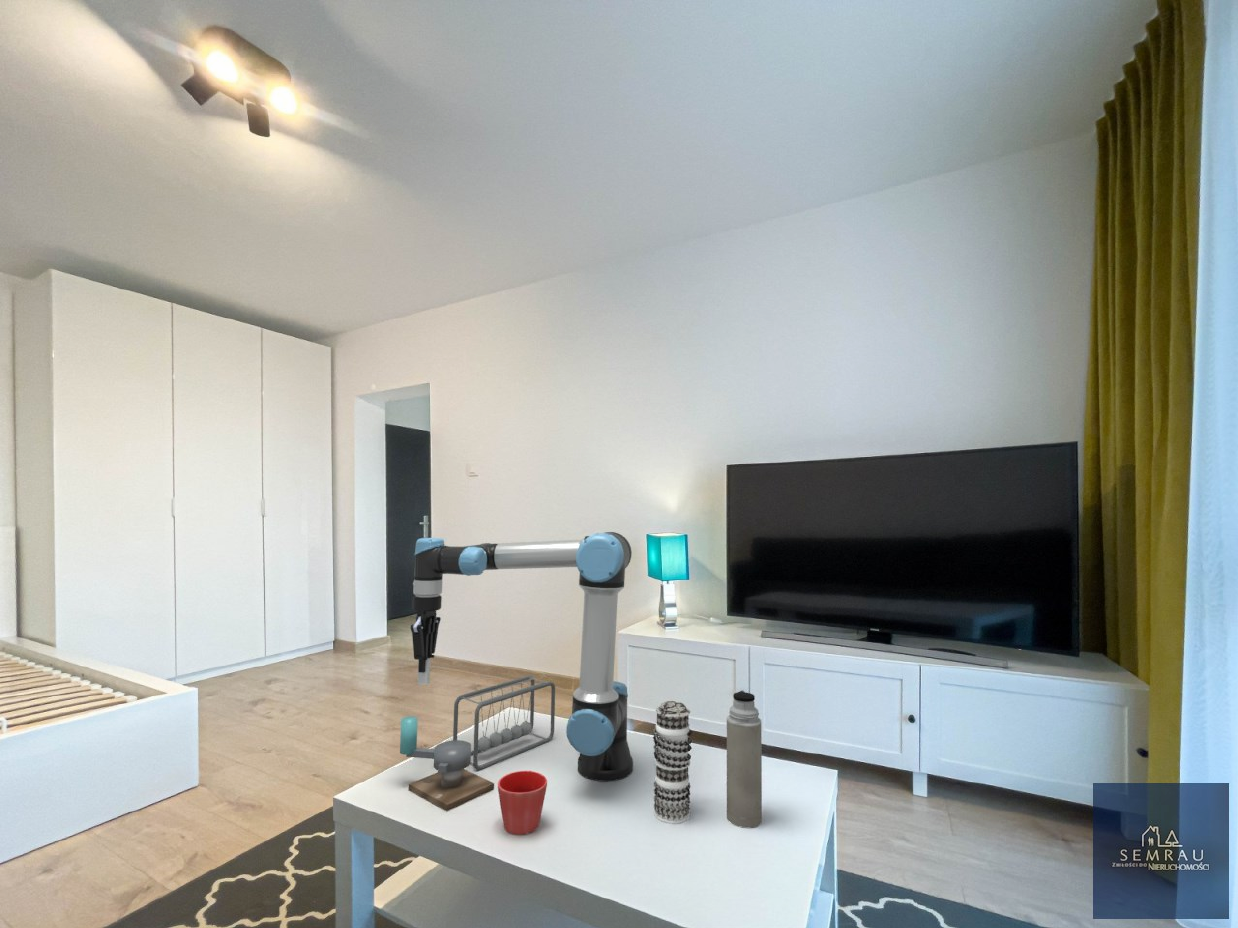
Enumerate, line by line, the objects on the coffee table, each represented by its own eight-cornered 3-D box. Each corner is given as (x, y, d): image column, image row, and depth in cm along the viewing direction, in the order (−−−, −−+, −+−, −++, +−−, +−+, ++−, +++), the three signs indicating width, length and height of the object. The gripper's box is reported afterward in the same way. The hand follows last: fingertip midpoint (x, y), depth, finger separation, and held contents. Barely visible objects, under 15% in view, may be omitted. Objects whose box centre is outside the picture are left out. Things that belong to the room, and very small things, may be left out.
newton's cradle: (474, 773, 156) (476, 704, 157) (451, 761, 162) (453, 696, 164) (554, 739, 179) (556, 680, 180) (531, 731, 186) (533, 673, 187)
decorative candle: (669, 799, 143) (670, 695, 145) (699, 814, 136) (700, 704, 138) (644, 813, 136) (645, 703, 138) (674, 829, 130) (675, 713, 132)
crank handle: (478, 755, 152) (479, 714, 153) (459, 775, 140) (460, 732, 141) (412, 749, 155) (413, 710, 156) (387, 769, 143) (389, 726, 144)
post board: (494, 789, 147) (494, 764, 147) (446, 811, 136) (447, 784, 136) (455, 770, 157) (456, 747, 157) (408, 790, 146) (409, 765, 146)
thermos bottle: (729, 807, 140) (729, 687, 142) (763, 813, 137) (762, 691, 139) (724, 824, 132) (724, 697, 134) (760, 830, 129) (759, 701, 132)
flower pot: (536, 842, 124) (538, 794, 125) (488, 835, 126) (490, 789, 127) (552, 816, 134) (553, 773, 135) (507, 811, 136) (508, 768, 137)
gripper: (425, 591, 166) (421, 675, 164) (402, 597, 153) (397, 689, 151) (450, 592, 165) (447, 677, 163) (429, 599, 152) (424, 691, 150)
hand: (423, 683), depth 157 cm, fingers closed
